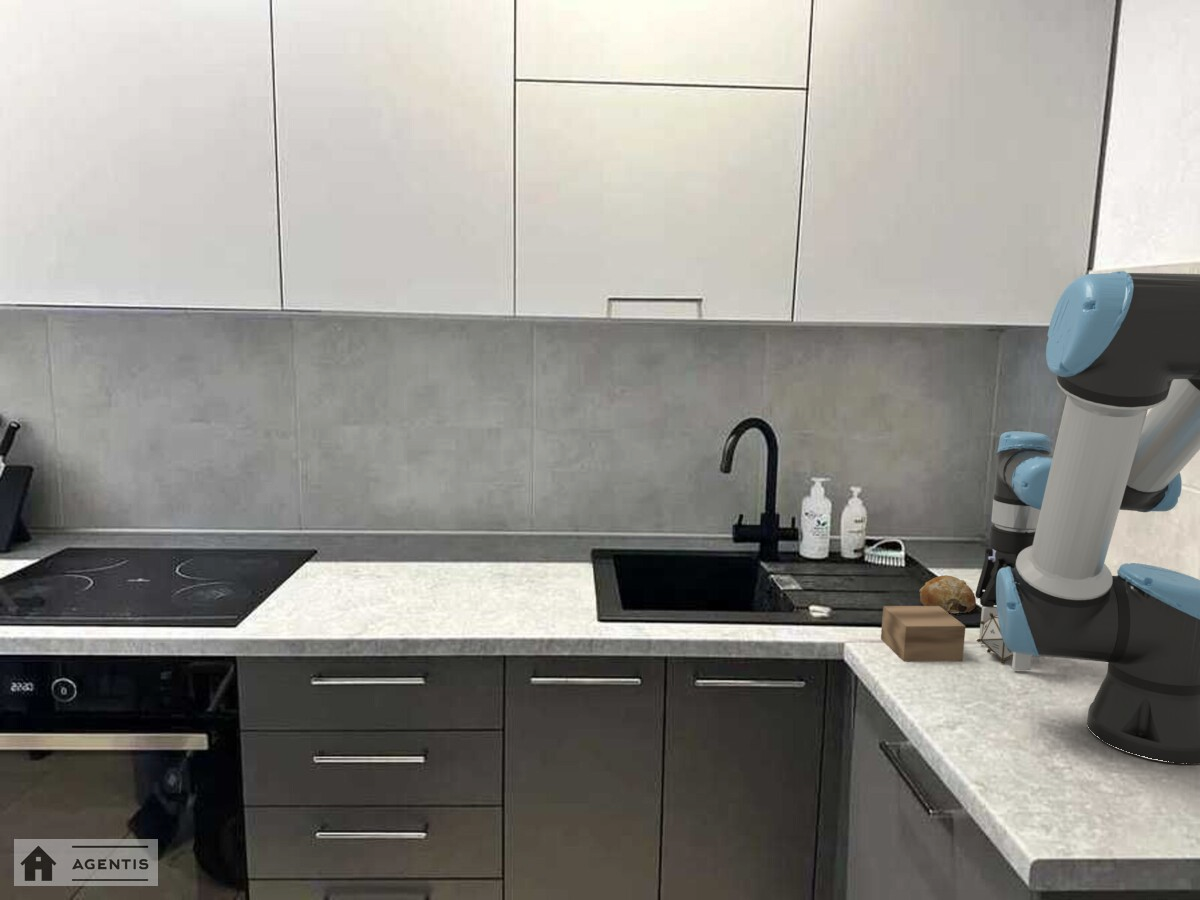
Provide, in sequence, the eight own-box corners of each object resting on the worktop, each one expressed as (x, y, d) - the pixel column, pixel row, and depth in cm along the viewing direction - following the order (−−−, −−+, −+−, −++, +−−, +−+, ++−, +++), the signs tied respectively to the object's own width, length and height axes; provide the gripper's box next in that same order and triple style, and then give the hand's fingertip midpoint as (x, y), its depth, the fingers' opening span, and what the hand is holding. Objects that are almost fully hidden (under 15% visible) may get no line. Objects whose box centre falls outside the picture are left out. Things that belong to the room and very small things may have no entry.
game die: (992, 681, 150) (961, 635, 149) (998, 648, 157) (967, 604, 155) (1046, 669, 145) (1013, 621, 143) (1049, 635, 151) (1018, 589, 150)
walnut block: (962, 660, 149) (965, 626, 148) (903, 661, 149) (906, 626, 148) (936, 638, 159) (939, 605, 158) (880, 638, 158) (883, 606, 157)
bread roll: (932, 632, 173) (946, 601, 168) (904, 594, 181) (918, 564, 176) (976, 627, 176) (991, 597, 171) (947, 591, 184) (961, 561, 179)
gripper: (1079, 545, 136) (1064, 684, 140) (1003, 510, 159) (991, 631, 162) (1031, 545, 135) (1017, 685, 139) (961, 510, 158) (951, 631, 162)
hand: (1003, 656), depth 151 cm, fingers open, 10 cm apart
